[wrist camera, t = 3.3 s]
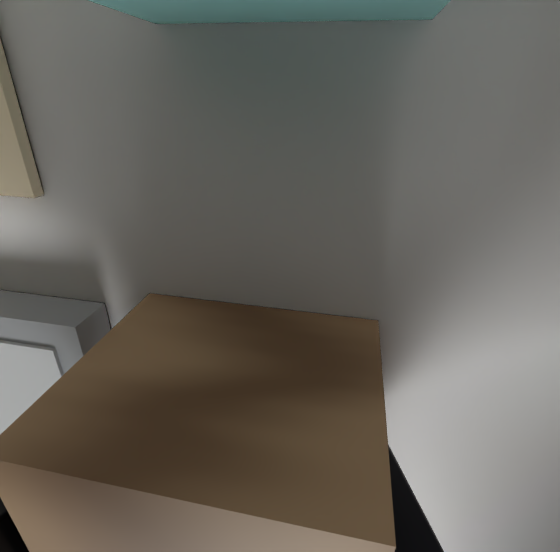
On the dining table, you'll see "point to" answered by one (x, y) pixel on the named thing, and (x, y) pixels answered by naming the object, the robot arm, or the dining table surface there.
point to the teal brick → (275, 10)
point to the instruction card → (14, 143)
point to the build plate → (41, 345)
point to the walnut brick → (208, 437)
